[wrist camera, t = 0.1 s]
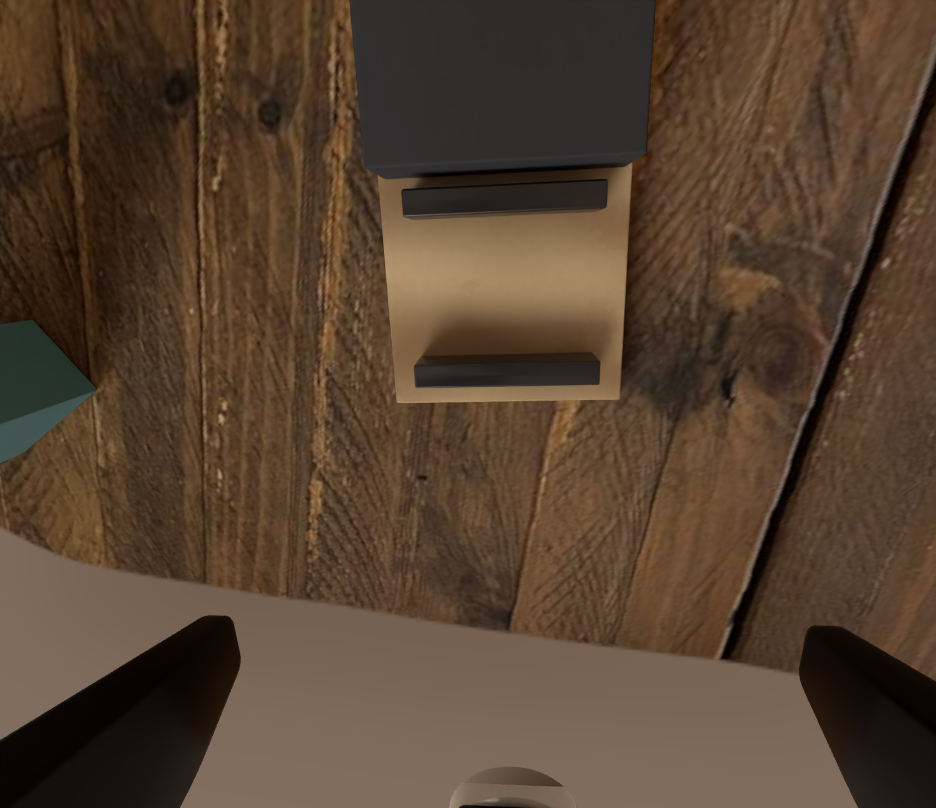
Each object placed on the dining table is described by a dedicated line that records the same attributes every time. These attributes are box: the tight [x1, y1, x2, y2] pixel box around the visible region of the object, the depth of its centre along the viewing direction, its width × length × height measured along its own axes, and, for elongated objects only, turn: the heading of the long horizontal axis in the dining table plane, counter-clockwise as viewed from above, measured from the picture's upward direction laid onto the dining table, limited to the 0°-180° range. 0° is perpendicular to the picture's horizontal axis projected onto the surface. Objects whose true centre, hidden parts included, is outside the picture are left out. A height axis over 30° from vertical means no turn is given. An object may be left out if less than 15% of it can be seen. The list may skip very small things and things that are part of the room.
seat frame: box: [349, 0, 656, 403], centre depth 16 cm, size 12×8×4 cm, turn 2°
